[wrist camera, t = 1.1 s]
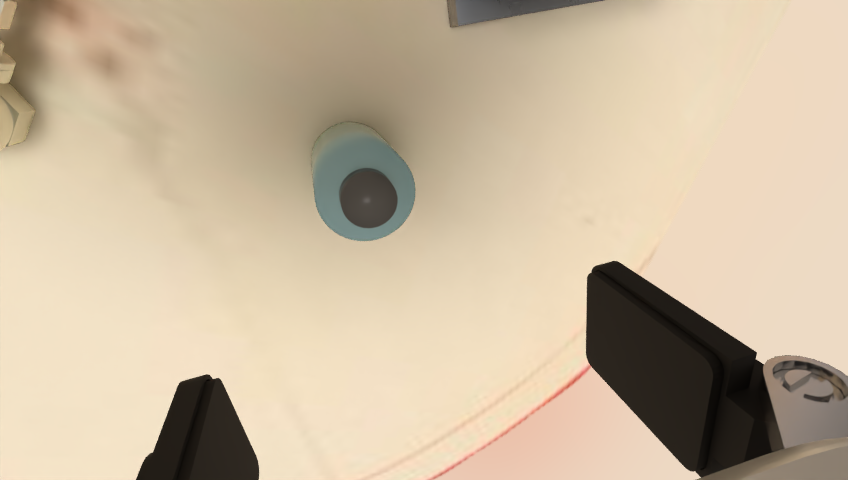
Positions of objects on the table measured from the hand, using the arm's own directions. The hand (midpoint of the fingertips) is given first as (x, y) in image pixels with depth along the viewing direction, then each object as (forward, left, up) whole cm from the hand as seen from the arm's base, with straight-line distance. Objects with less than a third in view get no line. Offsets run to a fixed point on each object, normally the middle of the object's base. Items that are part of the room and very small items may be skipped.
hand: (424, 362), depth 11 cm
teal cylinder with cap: (0, 0, -21) cm, 21 cm away
